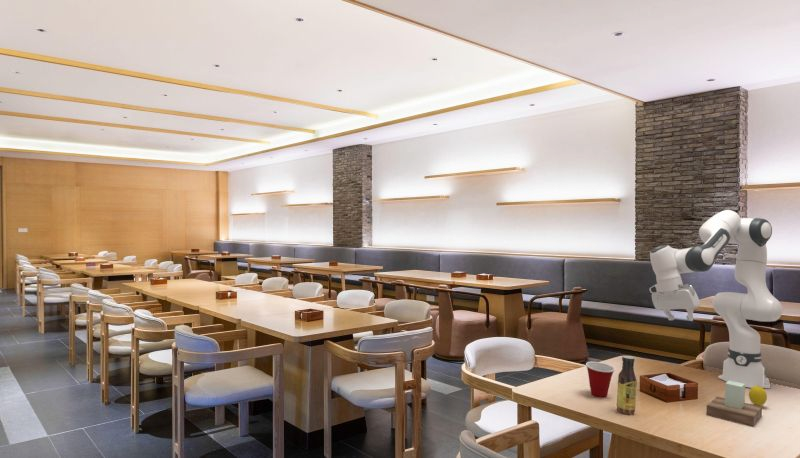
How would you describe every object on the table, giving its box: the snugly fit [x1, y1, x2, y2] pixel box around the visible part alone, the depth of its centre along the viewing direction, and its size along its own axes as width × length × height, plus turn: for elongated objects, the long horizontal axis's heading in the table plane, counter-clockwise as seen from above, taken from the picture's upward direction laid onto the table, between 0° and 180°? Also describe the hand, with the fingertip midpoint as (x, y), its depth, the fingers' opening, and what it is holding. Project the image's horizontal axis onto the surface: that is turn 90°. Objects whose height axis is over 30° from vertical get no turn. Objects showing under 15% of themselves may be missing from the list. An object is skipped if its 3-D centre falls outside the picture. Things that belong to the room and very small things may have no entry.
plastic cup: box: [585, 361, 616, 399], centre depth 199 cm, size 11×11×12 cm
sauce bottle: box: [616, 355, 638, 415], centre depth 182 cm, size 7×6×20 cm
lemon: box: [748, 385, 768, 406], centre depth 190 cm, size 6×6×8 cm
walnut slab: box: [705, 396, 763, 428], centre depth 180 cm, size 14×14×4 cm
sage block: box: [724, 381, 746, 409], centre depth 181 cm, size 5×5×8 cm
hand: (681, 319), depth 199 cm, fingers open, 8 cm apart
